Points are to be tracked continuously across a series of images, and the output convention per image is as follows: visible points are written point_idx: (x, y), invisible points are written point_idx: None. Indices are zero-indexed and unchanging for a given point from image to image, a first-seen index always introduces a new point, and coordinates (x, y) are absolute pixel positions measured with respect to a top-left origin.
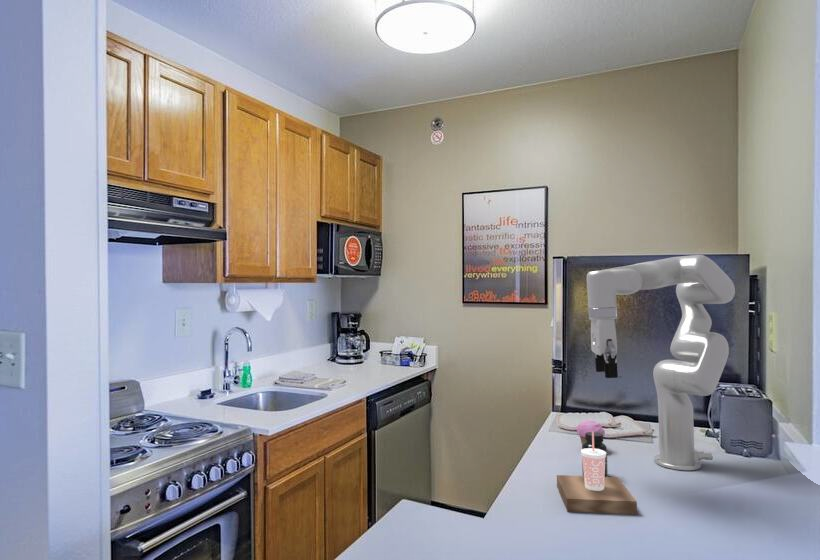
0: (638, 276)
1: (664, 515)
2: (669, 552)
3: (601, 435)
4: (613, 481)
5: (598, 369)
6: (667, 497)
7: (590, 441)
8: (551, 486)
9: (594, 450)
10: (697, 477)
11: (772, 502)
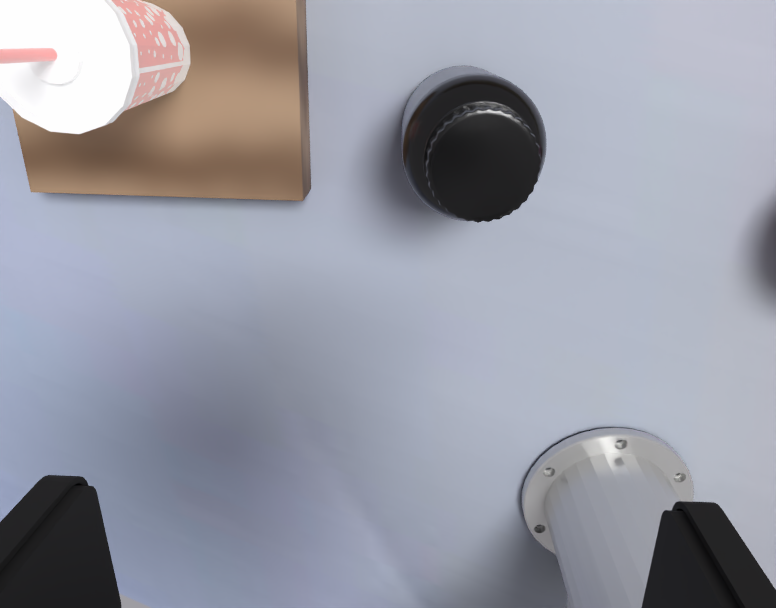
0: None
1: (80, 271)
2: None
3: (447, 207)
4: (243, 163)
5: (670, 555)
6: (247, 338)
7: (436, 124)
8: None
9: (61, 64)
10: (456, 498)
11: (261, 587)
